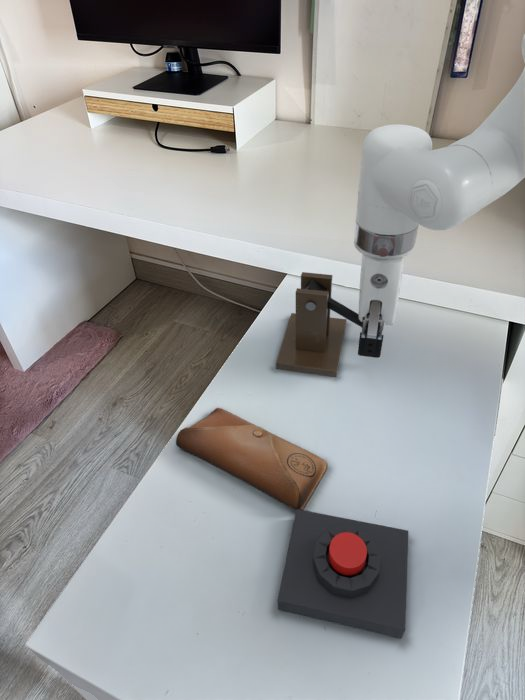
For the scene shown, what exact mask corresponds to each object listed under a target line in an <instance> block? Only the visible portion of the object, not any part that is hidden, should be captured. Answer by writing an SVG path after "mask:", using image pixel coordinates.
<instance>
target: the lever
mask: <svg viewBox="0 0 525 700" xmlns="http://www.w3.org/2000/svg"><path fill="white" fill-rule="evenodd" d="M304 289H309V290H319V291H328V289H327V288H326V287H324V286H322V285H321V284H319V283H317V282H316V281H314V280H312V279H311V280H310V281H309V283H308V284H307V285H306V287H305V288H304ZM328 308H329V309H331V310H330V311H332V312H334V313H335V314H338V315H339V316H341V317H343V318H344V319H346V320H348V321H350V322H352V323H353V324H355V325H356V326H359V327H360V328H362V327H363V321H362V322H361V321H360V320H359V313H357V312H355V310H352V309H351V308H349V307H347V306H346V305H344V304H342V303H341V302H339V301H337V300H335V299H334V298H332V297H331V298H330V297H329V296H328ZM368 325H369V322H367V326H366V328H368ZM377 329H378V328H377Z"/></svg>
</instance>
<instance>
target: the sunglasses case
mask: <svg viewBox="0 0 525 700" xmlns="http://www.w3.org/2000/svg"><path fill="white" fill-rule="evenodd" d="M175 445H176V447H177V448H179V449H181V450H182V451H184V452H186V453H188V454H189V455H191V456H193V457H196V458H198V459H200V460H201V461H204V462H205V463H208V464H209V465H211V466H213V467H215V468H217V469H219V470H221V471H223V472H225V473H227V474H229V475H230V476H232V477H234V478H236V479H238V480H240V481H242V482H243V483H245V484H246V485H249V486H250V487H253V488H255V489H256V490H258V491H260V492H261V493H263V494H266V495H267V496H269V497H270V498H272V499H274V500H276V501H278V502H279V503H281V504H283V505H285V506H287V507H289V508H290V509H292V510H295V511H296V510H297V509H300V510H304V509H305V507H306V506H307V505H308V503H309V502H310V500H311V498H312V496H313V495H314V493H315V491H316V489H317V488H318V487H319V484H320V482H321V480H323V479H322V478H323V477H324V475H325V474H326V472H327V470H328V461H326V460H324V459H323V458H321V457H320V456H318V455H317V454H315V453H313V452H310V451H308V450H307V449H305V448H303V447H301V446H298V445H297V444H295V443H293V442H290V441H288V440H286V439H284V438H282V437H281V436H278V435H276V434H274V433H272V432H270V431H268V430H266V429H264V428H263V427H262V426H261V427H260V426H257V425H256V424H254V423H252V422H250V421H247V420H246V419H244V418H242V417H240V416H238V415H236V414H234V413H232V412H230V411H228V410H227V409H224V408H221V407H216V408H214V410H212V411H211V412H210V413H209V414H208V415H207V416H205V417H204V418H202V419H201V420H199V421H197V422H195V423H193V424H192V425H191V426H187V427H184V428H182V429H180V430H179V432H178V433H177V435H176V437H175Z"/></svg>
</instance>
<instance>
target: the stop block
mask: <svg viewBox="0 0 525 700" xmlns="http://www.w3.org/2000/svg"><path fill="white" fill-rule="evenodd" d="M344 532H349V533H353V534H355V535H357V536H359V537H360V538H361V539H362V540H363V542H364V543H365V545H366V548H367V556H366V561H365V565H364V567H363V569H362V570H361V571H360V572H359V573H358V574H356V575H352V576H346V575H342V574H340V573H338V572H337V571H335V570H334V569H333V567H332V566H331V564H330V562H329V547H330V543H331V541H332V539H333V538H334V537H335V536H336V535H338V534H340V533H344ZM408 556H409V530H407V529H402V528H396V527H392V526H387V525H382V524H376V523H373V522H372V523H371V522H366V521H361V520H356V519H351V518H345V517H340V516H335V515H331V514H325V513H319V512H315V511H309V510H304V509H303V510H300V509H297V510H295V515H294V520H293V525H292V530H291V535H290V539H289V543H288V549H287V554H286V558H285V563H284V568H283V573H282V577H281V582H280V587H279V591H278V596H277V610H279V611H283V612H287V613H292V614H297V615H299V616H305V617H308V618H313V619H317V620H320V621H321V620H322V621H326V622H330V623H334V624H338V625H343V626H345V627H351V628H355V629H359V630H363V631H367V632H368V631H369V632H372V633H376V634H380V635H383V636H384V635H385V636H389V637H392V638H398V639H403V637H404V634H405V631H406V617H407V616H406V613H407V585H408V584H407V583H408V559H409V558H408Z"/></svg>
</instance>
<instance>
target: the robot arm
mask: <svg viewBox="0 0 525 700" xmlns="http://www.w3.org/2000/svg"><path fill="white" fill-rule="evenodd" d="M520 49H521V55H522V59H523V61H524V63H525V33H524V34H523V36H522V40H521V45H520ZM524 179H525V66H524V67H523V70H522V72H521V74H520V75H519V78H518V79H517V81H516V82H515V83H514V85H513V86H512V88H511V89H510V90H509V92H507V94H506V95H505V96H504V97H503V99H501V101H500V103H498V104H497V106H496V107H495V108H494V109H493V111H492V112H491V113H490V114H489V115H488V116H487V117H486V118H485V119H484V120H483V121H482V123H481V124H480V125H479V126H478V127H477V128H475V130H474V131H473V132H472V133H470V134H469V135H466V136H464V137H461V138H459V139H458V140H457V141H455V142H452V143H451V144H449V145H447V146H444V147H440V148H436V149H433V140H432V138H431V136H430V134H429V133H428V132H427V131H425V130H424V129H422V128H421V127H417V126H414V125H410V124H409V125H408V124H399V123H398V124H397V123H395V124H386V125H381V126H378V127H376V128H374V129H372V130H371V131H370V132H368V134H367V135H365V138H364V140H363V143H362V150H361V160H360V169H359V180H358V181H359V182H358V183H359V184H358V193H357V203H356V215H355V224H354V225H355V226H354V235H353V236H354V237H353V245H354V248H355V249H356V250H357V251H358V252H359V253H361V263H360V272H359V273H360V274H359V289H358V290H359V291H358V314H359V320H360V321H361V322H362V321H363V327H361V331H360V332H359V339H358V348H357V356H360V357H366V358H367V357H368V358H376V359H379V358H380V357H381V356H382V355H381V353H382V347H383V343H384V334H383V331H384V326H385V325H387V326H393V325H394V324H395V323H396V318H397V311H398V305H399V299H400V298H399V297H400V292H401V286H402V281H403V280H402V279H403V273H404V267H405V258H406V257H408V256H409V255H410V254H411V253H412V252H413V251H414V250H415V247H416V241H417V236H418V230H419V226H421V227H423V228H425V229H428V230H432V231H447V230H451V229H453V228H455V227H457V226H459V225H460V224H461V223H463V222H465V221H466V220H468V219H469V218H471V217H472V216H474V215H475V214H477V213H479V212H480V211H481V210H482V209H484V208H486V207H487V206H489V205H490V204H492V203H493V202H495V201H497V200H498V199H500V198H501V197H503V196H504V195H506V194H507V193H508V192H509V191H511V190H512V189H513V188H515V187H516V186H517V185H518V184H519V183H520V182H521V181H523V180H524ZM367 322H369V325H368V328H366V326H367ZM377 328H378V329H377Z"/></svg>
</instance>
